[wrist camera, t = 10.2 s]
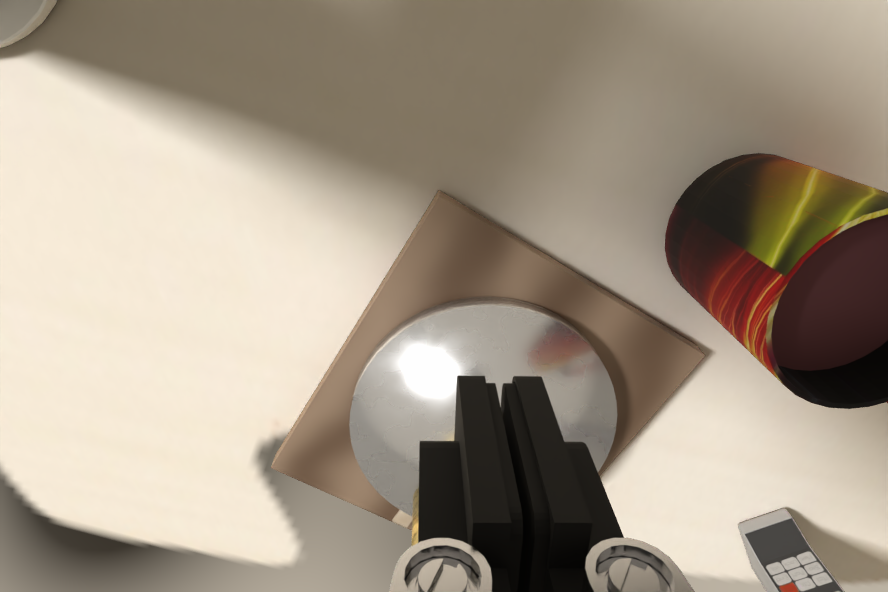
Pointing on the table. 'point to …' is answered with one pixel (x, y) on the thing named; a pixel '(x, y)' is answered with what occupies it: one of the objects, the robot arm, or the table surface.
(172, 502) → the table surface
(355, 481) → the base board
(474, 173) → the table surface
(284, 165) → the table surface
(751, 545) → the vintage mobile phone
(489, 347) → the dial
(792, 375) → the mug
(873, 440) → the table surface
